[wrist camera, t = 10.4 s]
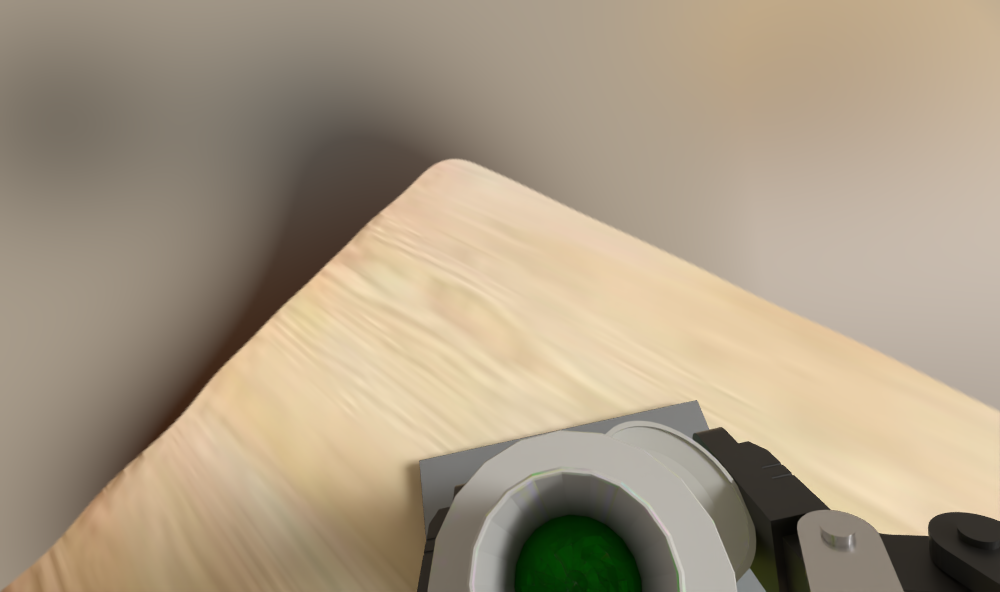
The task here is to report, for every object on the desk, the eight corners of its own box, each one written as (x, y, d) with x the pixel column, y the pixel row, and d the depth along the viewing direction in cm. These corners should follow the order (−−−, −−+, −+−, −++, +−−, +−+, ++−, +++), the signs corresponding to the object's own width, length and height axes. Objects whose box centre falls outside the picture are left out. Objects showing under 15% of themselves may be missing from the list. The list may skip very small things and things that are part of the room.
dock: (455, 793, 21) (422, 848, 16) (425, 465, 28) (397, 442, 24) (819, 718, 21) (886, 754, 16) (692, 406, 28) (714, 373, 24)
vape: (518, 583, 21) (239, 551, 4) (617, 488, 22) (722, 167, 5) (578, 668, 19) (530, 1269, 2) (681, 560, 20) (1145, 413, 4)
